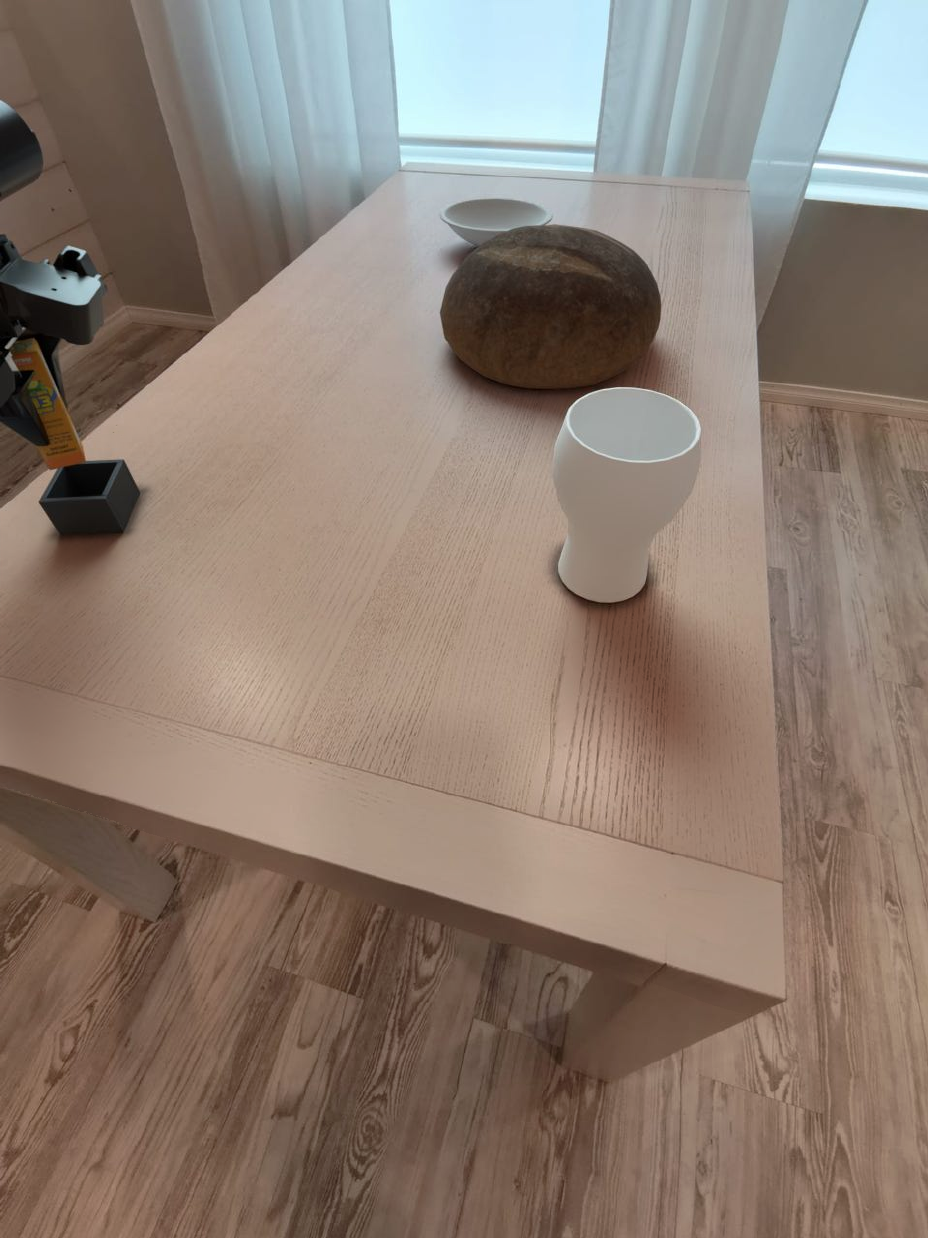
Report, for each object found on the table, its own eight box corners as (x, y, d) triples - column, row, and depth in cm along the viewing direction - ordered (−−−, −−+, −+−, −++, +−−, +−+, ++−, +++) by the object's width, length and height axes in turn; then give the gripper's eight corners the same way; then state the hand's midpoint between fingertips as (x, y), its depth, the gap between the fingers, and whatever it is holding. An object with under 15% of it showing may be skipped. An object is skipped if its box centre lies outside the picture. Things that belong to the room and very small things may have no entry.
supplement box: (48, 473, 57) (-11, 356, 50) (45, 456, 59) (-11, 343, 52) (89, 463, 58) (37, 347, 51) (85, 447, 60) (35, 335, 53)
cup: (517, 576, 57) (527, 428, 46) (585, 515, 62) (609, 368, 51) (621, 637, 53) (661, 489, 41) (685, 565, 58) (736, 416, 46)
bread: (608, 421, 73) (629, 301, 62) (405, 364, 81) (396, 251, 71) (679, 324, 87) (705, 214, 77) (500, 284, 96) (503, 181, 86)
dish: (554, 234, 108) (557, 199, 104) (544, 269, 99) (547, 233, 95) (450, 228, 110) (449, 194, 107) (431, 262, 101) (430, 227, 97)
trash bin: (123, 531, 62) (105, 498, 59) (59, 535, 62) (38, 502, 59) (140, 491, 66) (123, 458, 63) (80, 494, 66) (61, 461, 63)
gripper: (4, 285, 39) (115, 493, 51) (101, 184, 51) (172, 371, 63) (-186, 292, 39) (-31, 500, 50) (-44, 189, 51) (55, 376, 63)
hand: (53, 430), depth 57 cm, fingers closed on supplement box, 4 cm apart
